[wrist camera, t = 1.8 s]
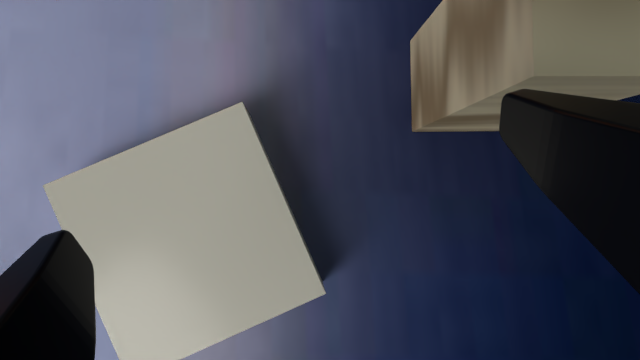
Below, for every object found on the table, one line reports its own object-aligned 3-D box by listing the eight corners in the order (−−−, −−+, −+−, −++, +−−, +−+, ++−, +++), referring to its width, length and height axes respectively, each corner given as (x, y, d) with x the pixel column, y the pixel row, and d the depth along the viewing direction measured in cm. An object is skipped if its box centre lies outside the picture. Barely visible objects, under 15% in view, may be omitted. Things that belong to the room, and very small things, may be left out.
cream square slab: (322, 279, 24) (325, 293, 21) (151, 356, 23) (129, 382, 20) (249, 112, 24) (242, 101, 21) (75, 185, 23) (42, 185, 20)
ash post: (500, 130, 24) (709, 76, 12) (412, 131, 24) (534, 76, 12) (498, 41, 24) (703, -104, 12) (410, 40, 24) (529, -108, 12)
